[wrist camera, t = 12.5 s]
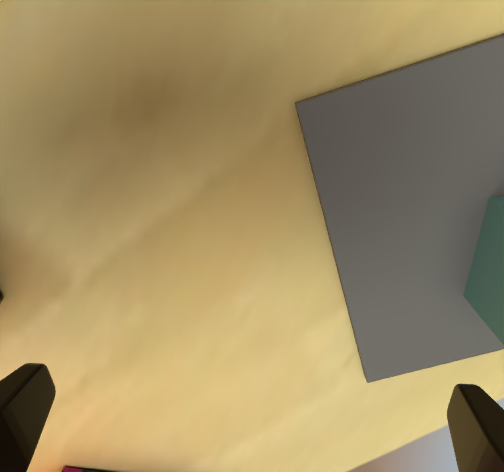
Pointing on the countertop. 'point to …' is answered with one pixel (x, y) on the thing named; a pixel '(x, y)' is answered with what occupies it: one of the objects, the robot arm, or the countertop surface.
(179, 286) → the countertop surface
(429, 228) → the charcoal mat
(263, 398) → the countertop surface
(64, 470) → the candy bar box
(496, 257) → the teal block
